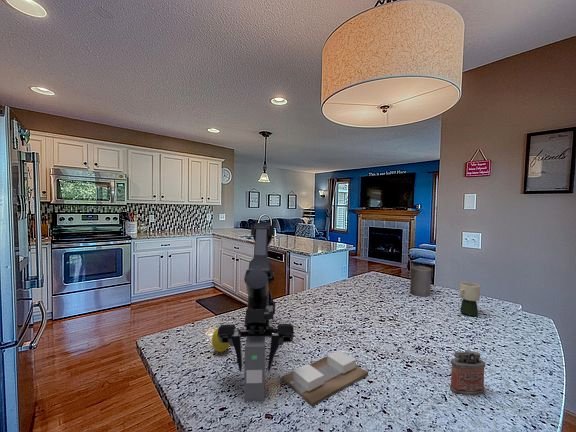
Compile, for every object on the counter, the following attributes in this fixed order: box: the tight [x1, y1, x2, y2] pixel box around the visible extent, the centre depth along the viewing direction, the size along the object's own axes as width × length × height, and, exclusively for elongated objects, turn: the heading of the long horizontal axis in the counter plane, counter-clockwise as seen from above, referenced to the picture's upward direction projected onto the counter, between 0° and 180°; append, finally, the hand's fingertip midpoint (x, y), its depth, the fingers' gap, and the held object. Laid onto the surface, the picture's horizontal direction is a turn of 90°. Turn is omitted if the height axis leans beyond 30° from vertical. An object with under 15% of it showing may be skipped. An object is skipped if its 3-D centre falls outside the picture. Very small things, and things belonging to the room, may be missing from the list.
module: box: [243, 336, 266, 403], centre depth 66 cm, size 5×4×13 cm
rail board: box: [281, 356, 369, 407], centre depth 73 cm, size 12×20×1 cm, turn 126°
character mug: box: [458, 281, 481, 317], centre depth 117 cm, size 11×7×13 cm, turn 107°
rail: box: [290, 363, 359, 394], centre depth 73 cm, size 5×20×1 cm, turn 126°
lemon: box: [211, 328, 230, 353], centre depth 85 cm, size 6×6×8 cm
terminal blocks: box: [292, 350, 357, 392], centre depth 73 cm, size 6×17×2 cm, turn 126°
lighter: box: [449, 349, 486, 396], centre depth 68 cm, size 8×3×10 cm, turn 92°
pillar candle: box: [409, 265, 432, 298], centre depth 144 cm, size 10×10×15 cm
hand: (254, 370), depth 65 cm, fingers open, 6 cm apart
